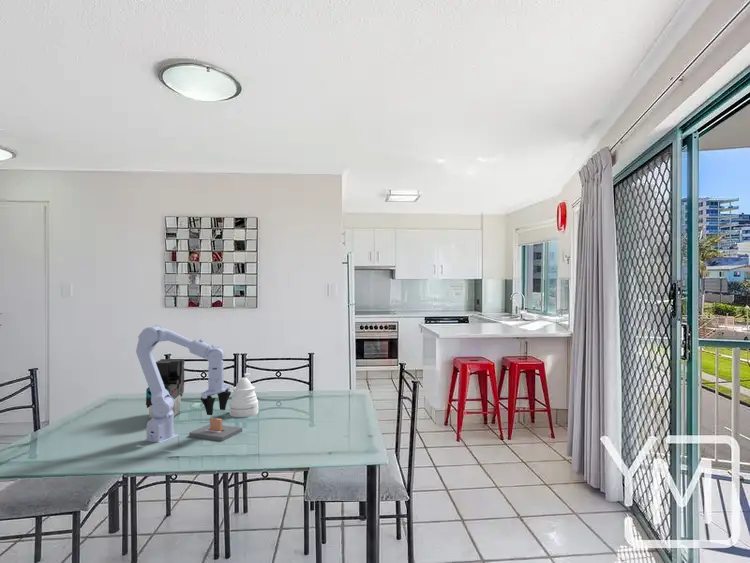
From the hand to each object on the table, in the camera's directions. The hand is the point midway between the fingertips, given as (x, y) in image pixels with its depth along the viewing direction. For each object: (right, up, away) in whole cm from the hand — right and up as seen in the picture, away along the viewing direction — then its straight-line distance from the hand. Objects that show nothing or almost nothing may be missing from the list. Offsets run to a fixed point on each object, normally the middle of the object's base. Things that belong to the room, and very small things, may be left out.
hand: (216, 412), depth 184 cm
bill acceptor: (-31, -10, +25) cm, 41 cm away
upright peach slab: (0, -9, 0) cm, 9 cm away
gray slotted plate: (0, -9, 0) cm, 9 cm away
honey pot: (+2, -10, +31) cm, 33 cm away
